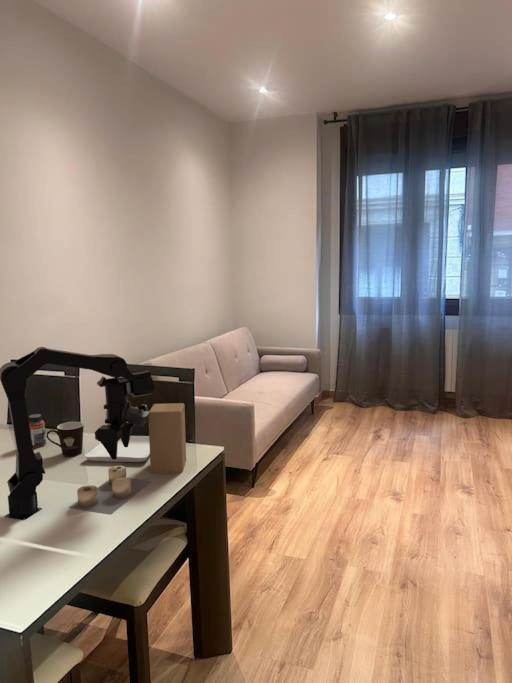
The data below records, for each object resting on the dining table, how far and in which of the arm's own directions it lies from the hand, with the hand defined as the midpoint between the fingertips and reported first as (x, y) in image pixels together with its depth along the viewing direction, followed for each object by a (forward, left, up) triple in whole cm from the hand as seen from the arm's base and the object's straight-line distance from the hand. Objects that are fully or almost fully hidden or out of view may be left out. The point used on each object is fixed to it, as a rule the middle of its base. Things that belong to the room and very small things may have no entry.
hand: (120, 452), depth 138 cm
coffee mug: (+20, +35, -12) cm, 42 cm away
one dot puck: (-11, +4, -11) cm, 15 cm away
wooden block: (+18, -5, -12) cm, 22 cm away
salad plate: (+25, +15, -12) cm, 32 cm away
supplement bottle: (+23, +51, -12) cm, 57 cm away
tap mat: (-4, +1, -11) cm, 12 cm away
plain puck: (-4, -2, -11) cm, 11 cm away
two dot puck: (+3, +4, -11) cm, 12 cm away
